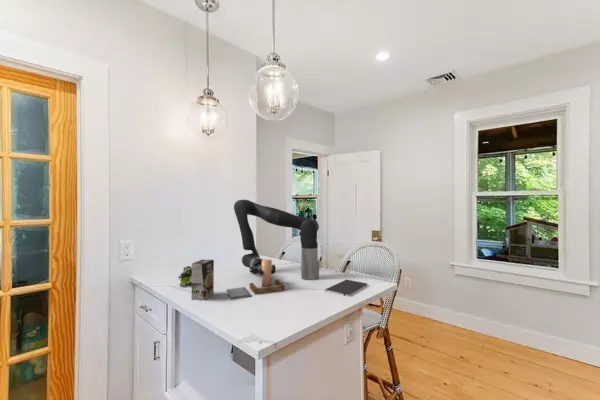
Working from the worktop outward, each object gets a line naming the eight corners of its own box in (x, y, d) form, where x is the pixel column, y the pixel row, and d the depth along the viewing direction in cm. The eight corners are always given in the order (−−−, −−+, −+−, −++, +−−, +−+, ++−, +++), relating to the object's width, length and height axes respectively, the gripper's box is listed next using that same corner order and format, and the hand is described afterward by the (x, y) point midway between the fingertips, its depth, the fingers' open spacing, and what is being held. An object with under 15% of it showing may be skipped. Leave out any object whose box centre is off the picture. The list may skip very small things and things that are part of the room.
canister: (269, 286, 146) (269, 259, 146) (273, 289, 141) (272, 261, 141) (260, 287, 144) (260, 260, 144) (263, 290, 139) (263, 262, 139)
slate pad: (244, 288, 142) (244, 286, 142) (250, 296, 131) (250, 294, 131) (226, 291, 139) (226, 289, 139) (230, 299, 128) (230, 297, 128)
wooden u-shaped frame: (277, 284, 150) (277, 279, 150) (285, 290, 140) (285, 285, 140) (249, 288, 144) (249, 283, 144) (255, 294, 134) (255, 289, 134)
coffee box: (204, 300, 126) (204, 263, 126) (190, 299, 128) (190, 263, 127) (214, 293, 135) (214, 259, 135) (201, 292, 136) (201, 258, 136)
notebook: (346, 282, 156) (325, 292, 139) (346, 279, 156) (325, 289, 139) (368, 286, 148) (349, 297, 131) (368, 283, 148) (349, 294, 131)
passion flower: (186, 292, 153) (193, 271, 160) (202, 291, 149) (208, 269, 156) (170, 285, 145) (178, 263, 152) (186, 283, 141) (194, 261, 148)
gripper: (245, 259, 153) (253, 266, 138) (271, 257, 159) (281, 263, 143) (245, 273, 153) (253, 282, 138) (271, 270, 159) (281, 278, 143)
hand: (267, 272), depth 141 cm, fingers closed on canister, 5 cm apart
